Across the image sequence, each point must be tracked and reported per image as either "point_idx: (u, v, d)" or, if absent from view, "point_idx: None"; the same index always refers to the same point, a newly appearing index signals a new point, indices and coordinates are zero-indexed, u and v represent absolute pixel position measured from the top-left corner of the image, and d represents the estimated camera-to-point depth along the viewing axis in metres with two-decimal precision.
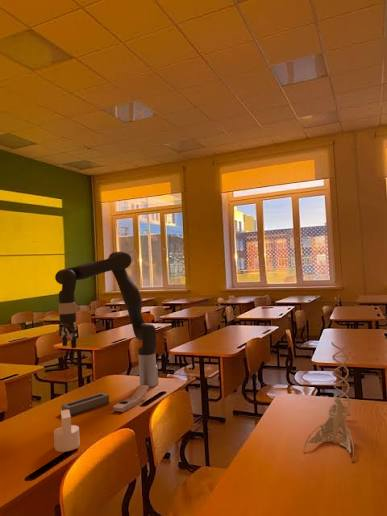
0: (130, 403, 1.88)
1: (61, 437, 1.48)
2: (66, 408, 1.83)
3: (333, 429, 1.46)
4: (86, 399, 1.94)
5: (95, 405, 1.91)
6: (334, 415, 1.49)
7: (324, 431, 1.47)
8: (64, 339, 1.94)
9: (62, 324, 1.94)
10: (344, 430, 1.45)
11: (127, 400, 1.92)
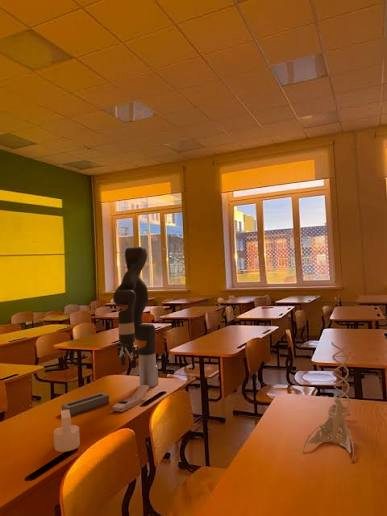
0: (130, 403, 1.89)
1: (61, 437, 1.48)
2: (66, 408, 1.83)
3: (333, 429, 1.46)
4: (86, 399, 1.94)
5: (95, 405, 1.91)
6: (334, 415, 1.49)
7: (324, 431, 1.47)
8: (122, 358, 1.96)
9: (120, 344, 1.97)
10: (344, 430, 1.45)
11: (127, 400, 1.93)
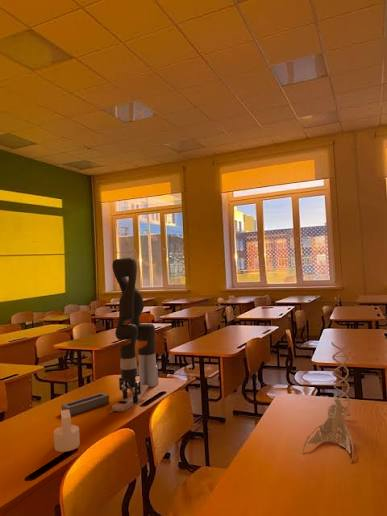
0: (129, 403, 1.89)
1: (61, 437, 1.48)
2: (66, 408, 1.83)
3: (332, 429, 1.46)
4: (86, 399, 1.94)
5: (95, 405, 1.91)
6: (333, 415, 1.49)
7: (323, 431, 1.47)
8: (125, 393, 1.96)
9: (122, 378, 1.97)
10: (343, 430, 1.45)
11: (126, 400, 1.93)
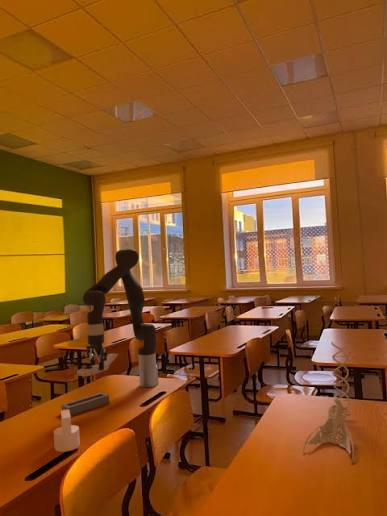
0: (95, 368, 1.87)
1: (61, 437, 1.48)
2: (66, 408, 1.83)
3: (333, 430, 1.45)
4: (86, 399, 1.94)
5: (95, 405, 1.91)
6: (334, 416, 1.49)
7: (324, 432, 1.47)
8: (92, 361, 1.94)
9: (89, 345, 1.95)
10: (344, 431, 1.44)
11: (93, 366, 1.91)
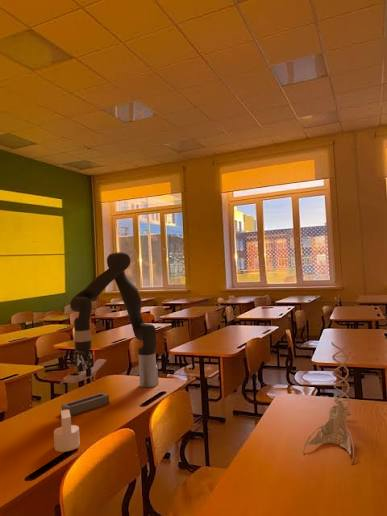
0: (82, 375, 1.87)
1: (61, 437, 1.48)
2: (66, 408, 1.83)
3: (333, 430, 1.45)
4: (86, 399, 1.94)
5: (95, 405, 1.91)
6: (335, 416, 1.48)
7: (324, 432, 1.46)
8: (80, 367, 1.94)
9: (77, 351, 1.95)
10: (345, 431, 1.44)
11: (80, 372, 1.91)
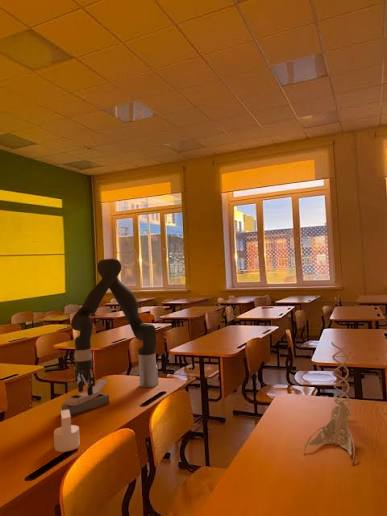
0: (83, 397, 1.87)
1: (61, 437, 1.48)
2: (66, 408, 1.83)
3: (335, 431, 1.44)
4: None
5: (95, 405, 1.91)
6: (336, 417, 1.48)
7: (326, 433, 1.46)
8: (80, 385, 1.94)
9: (78, 370, 1.95)
10: (346, 432, 1.43)
11: (82, 394, 1.91)
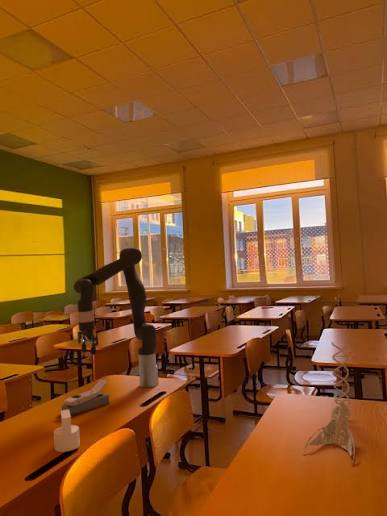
0: (83, 397, 1.87)
1: (61, 437, 1.48)
2: (66, 408, 1.83)
3: (335, 431, 1.44)
4: None
5: (95, 405, 1.91)
6: (337, 417, 1.47)
7: (326, 433, 1.46)
8: (83, 346, 2.02)
9: (81, 331, 2.02)
10: (346, 433, 1.43)
11: (82, 394, 1.91)
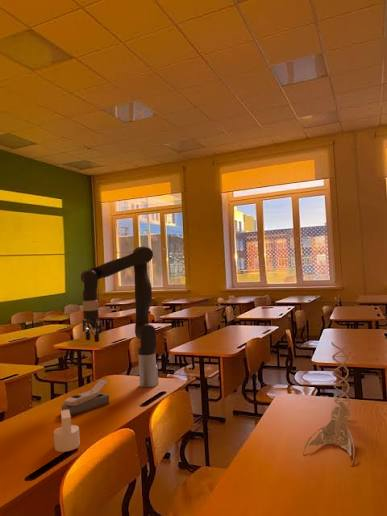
0: (83, 397, 1.87)
1: (61, 437, 1.48)
2: (66, 408, 1.83)
3: (335, 432, 1.44)
4: None
5: (95, 405, 1.91)
6: (336, 417, 1.47)
7: (326, 433, 1.45)
8: (87, 334, 2.11)
9: (85, 320, 2.12)
10: (346, 433, 1.43)
11: (82, 394, 1.91)
